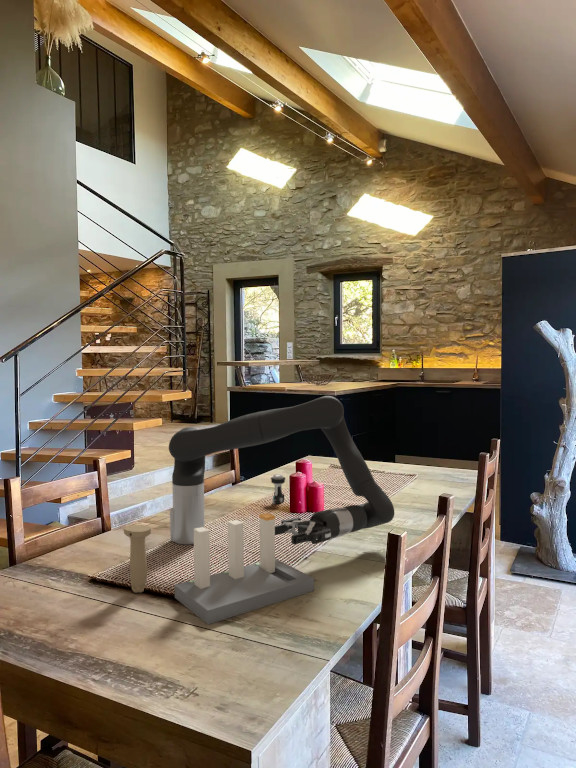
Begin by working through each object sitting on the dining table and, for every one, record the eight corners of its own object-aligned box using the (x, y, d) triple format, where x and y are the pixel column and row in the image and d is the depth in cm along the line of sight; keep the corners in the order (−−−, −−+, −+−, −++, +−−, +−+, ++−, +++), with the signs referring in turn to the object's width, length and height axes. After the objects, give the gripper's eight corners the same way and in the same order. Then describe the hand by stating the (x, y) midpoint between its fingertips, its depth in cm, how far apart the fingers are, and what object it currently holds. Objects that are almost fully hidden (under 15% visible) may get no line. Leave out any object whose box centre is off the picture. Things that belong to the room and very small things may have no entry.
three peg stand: (208, 624, 121) (207, 549, 120) (174, 597, 134) (173, 529, 133) (313, 590, 137) (313, 523, 136) (275, 569, 150) (274, 508, 149)
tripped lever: (266, 574, 142) (266, 517, 141) (259, 570, 145) (259, 514, 144) (275, 572, 144) (275, 515, 143) (268, 568, 146) (267, 512, 145)
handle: (142, 597, 134) (141, 533, 133) (121, 591, 137) (119, 529, 136) (156, 589, 139) (155, 527, 138) (135, 584, 141) (133, 523, 140)
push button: (278, 506, 209) (278, 478, 208) (266, 504, 212) (266, 476, 211) (288, 501, 215) (288, 474, 214) (275, 499, 218) (275, 473, 217)
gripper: (315, 503, 161) (266, 514, 152) (349, 515, 150) (299, 528, 140) (315, 530, 162) (266, 542, 152) (349, 544, 150) (299, 558, 141)
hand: (282, 535), depth 146 cm, fingers open, 8 cm apart
